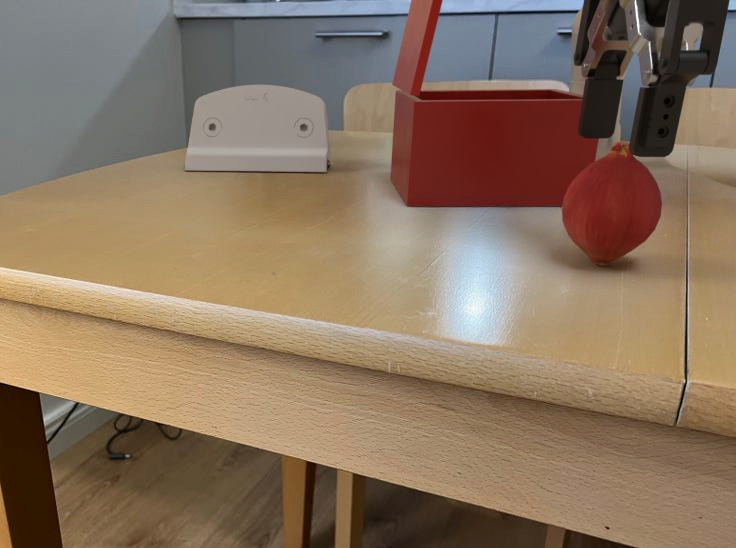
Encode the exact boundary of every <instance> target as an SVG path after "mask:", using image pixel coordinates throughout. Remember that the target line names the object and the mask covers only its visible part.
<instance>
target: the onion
mask: <svg viewBox="0 0 736 548" xmlns="http://www.w3.org/2000/svg"><path fill="white" fill-rule="evenodd" d="M629 143H630V142H628V141H626V140H620V141H618V142H616V143H615V144H614V145H613V146H611V151H610V152H609V153H608V154H607V155H606V156H604V157H602V158H600V159H599V160H597V161H595V162H593V163H592V164H590V165H589V166H587V167H586V168H585V169H584V170H583V171H582V172H580V173H579V174H578V176H577V177H576V178H575V179H574V180H573V181H572V183H571V184H570V186H569V187H568V189H567V192H566V194H565V196H564V200H563V205H562V206H561V220H562V224H563V226H564V228H565V229H564V230H565V231H566V234H567V236H568V237H569V239H571V241H572V242H573V243H574V244H575V246H577V248H578V249H580V250H581V251H582V252H583V253H584V254H585V255H586V256H587V257H588V259H589V260H590V261H591V262H592V263H594V264H595V265H597V266H607V265H610V264H612V263H613V262H615V261H617V260H619V259H620V258H622V257H624V256H627V254H630V252H633V251H634V250H635V249H637V248H638V247H639V246H641V245H642V244H644V243H645V242H646V241H647V240H648V239H649V237H650V236H652V234H653V233H654V231H655V230H656V228H657V226H658V223H659V221H660V219H661V217H662V207H663V202H662V201H663V200H662V192H661V190H660V186H659V184H658V182H657V180H656V178H655V177H654V175H653V174H652V172H651V171H650V170H649V169H648V167H647V166H646V165H644V163H643V162H641V161H640V160H638V159H637V158H636V156H635V155H633V154H631V153H630V151H629Z"/></svg>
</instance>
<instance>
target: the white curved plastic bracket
mask: <svg viewBox="0 0 736 548" xmlns="http://www.w3.org/2000/svg"><path fill="white" fill-rule="evenodd" d="M193 107H194V108H193V113H192V120H191V125H190V132H189V136H188V137H189V138H188V144H187V149H186V152H185V163H184V165H185V166H184V171H185V172H231V173H232V172H235V173H236V172H237V173H238V172H241V173H242V172H243V173H308V174H309V173H311V174H312V173H313V174H314V173H315V174H316V173H318V174H326V173H328V167H330V166H332V157H331V145H330V133H329V120H328V108H327V104H326V103H325V101H324V100H323V99H322V98H321V97H319V96H318V95H315V94H312V93H309V92H307V91H303V90H300V89H297V88H292V87H287V86H281V85H275V84H246V85H245V84H244V85H236V86H232V87H226V88H223V89H219V90H216V91H213V92H209V93H207V94H204V95H202V96H200V97H198V98H197V99H196V101H195V103H194V106H193Z"/></svg>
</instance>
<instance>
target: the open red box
mask: <svg viewBox="0 0 736 548" xmlns="http://www.w3.org/2000/svg"><path fill="white" fill-rule="evenodd" d="M582 99H583V95H581V94H576V93H572V92H569V91H566V90H562V89H557V88H526V89H525V88H522V89H521V88H519V89H517V88H516V89H513V88H512V89H511V88H510V89H421V91H420V95H419V96H414V95H410V94H408V93H406V92H404V91H403V90H401V89H399V90H395V97H394V113H393V129H392V130H393V131H392V146H391V163H390V176H389V177H390V178H389V179H390V183H391V184H392V185H393V187H394V188H395V190H396V191H397V193H398V194H399V196H400V198H401V199H402V200H403V202H404V204H405V206H406V207H562V205H563V200H564V196H565V194H566V192H567V189H568V187H569V186H570V184H571V183H572V181H573V180H574V179H575V178H576V177H577V176H578V174H579V173H580V172H582V171H583V170H584V169H585V168H586V167H587V166H589V165H590V164H592V163H593V162H595V158H596V152H597V146H598V140H599V139H587V138H583V137H581V136H579V134H578V124H579V118H580V112H581V105H582Z"/></svg>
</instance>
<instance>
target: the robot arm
mask: <svg viewBox="0 0 736 548" xmlns="http://www.w3.org/2000/svg"><path fill="white" fill-rule="evenodd" d="M730 1H731V0H583V4H582V7H583V9H582V15H581V20H580V26H579V32H578V38H577V44H576V50H575V54H574V64H575V66H582V67H581V70H582V76H583V77H588V79H586V80H585V86H584V93H583V99H582V105H581V112H580V118H579V124H578V134H579V136H581V137H583V138H587V139H606V138H610V137H611V136H612V135H613V134H614V131H615V126H616V120H617V115H618V109H619V104H620V98H621V92H622V93H623V89H622V87H623V88H624V84H623V81H624V80H625V79H624V80H622V79H617V77H622V76H623V75H624V73H625V71H626V72H627V70H626V69H628V67H629V64H630V62H631V61H632V58H633V56H634V55H635V54H636V55H637V56H638V63H639V71H640V77H641V78H640V79H641V85H642V86H639V90H638V96H637V101H636V106H635V112H634V116H633V122H632V128H631V133H630V138H629V142H628V143H629V151H630V153H631V154H633V156H634V157H638V158H666V157H669V155H671V154H672V152H673V151H674V147H675V144H676V138H677V134H678V129H679V124H680V120H681V115H682V109H683V105H684V100H685V96H686V91H687V87H691V86H693V85H694V84H695V83H696V80H697V77H699V76H711V75H712V74H714V72H715V70H716V68H717V66H718V64H719V63H718V62H719V57H720V53H721V52H720V51H721V47H722V42H723V37H724V32H725V26H726V21H727V16H728V11H729V6H730ZM606 27H608V28H606ZM698 40H700V43H699V48H698V49H696V43H697V42H698ZM589 44H590V47H589ZM624 82H625V81H624ZM621 99H622V98H621Z"/></svg>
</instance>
